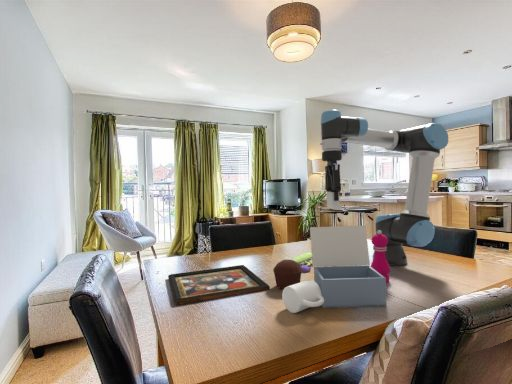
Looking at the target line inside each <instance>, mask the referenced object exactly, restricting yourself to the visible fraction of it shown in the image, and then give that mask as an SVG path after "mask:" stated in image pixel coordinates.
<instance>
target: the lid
mask: <svg viewBox="0 0 512 384" xmlns="http://www.w3.org/2000/svg"><path fill="white" fill-rule="evenodd" d="M366 229H367V228H366V225H343V226H342V225H341V226H338V225H336V226H310V227H309V233H310V234H309V235H310V236H309V237H310V247H311V252H312V258H311V262H312V263H311V264H312V267H313V268H314V267H333V266H367V265H369V266H371V263H370V255H369V245H368V238H367V237H368V235H367V230H366Z"/></svg>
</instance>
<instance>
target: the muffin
mask: <svg viewBox="0 0 512 384" xmlns="http://www.w3.org/2000/svg"><path fill="white" fill-rule="evenodd" d="M301 266H302V265H301V264H300V265H299V264H298V263H297V262H295V261H294V260H292V259H283V260H281V261H279V262H278V263H276V265H275V266H274V268H273V271H272V272H273V274H274V279H275V284H276V288H277V289H279V290H281V291H283V290H284V288H285V287H287V286H291V285H294V284H297V283H300V282H301V277H302V272H303V270H302V267H301Z"/></svg>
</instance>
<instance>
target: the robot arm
mask: <svg viewBox="0 0 512 384" xmlns="http://www.w3.org/2000/svg"><path fill="white" fill-rule="evenodd" d="M320 128H321V129H320V133H321V134H320V135H321V142H320V146H321V150H322V152H321V160H322V161H323V162H327V164H326V166H325V167H324V170H325V171H324V172H325V174H324V175H325V178H324V179H325V180H324V181H325V182H324V183H325V184H324V185H325V186H324V190H325V192H326V208H328V209H329V208H331V210H340V209H341V207H340V206H341V205H340V201H341V200H340V193H341V191H342V185H341V183H342V182H341V171H340V170H341V168H340V167H341V165H340V163H339V164H338V162H339V161H342V160H343V159H342V158H343V157H342V156H343V155H342V154H343V153H342V149H343V147H342V143H348V144H356V145H361V146H362V145H363V146H370V147H376V148H377V147H379V148H384V149H385V150H386V151H393V152H399V153H403V154H404V153H407V154H409V155H410V156H411V157H412V160H411V167H410V171H409V172H410V174H409V178H408V179H409V180H408V185H407V192H406V200H405V206H404V210H402V211H401V212H400V213H389V214H378V215H377V216H376V217H375V223H374V224H375V235H376V234H377V231H378V230H381V231H382V234H383V235H385V236H386V237H387V239H388V243H387V245H386V247H387V248H386V249H387V250H386V251H385V256H386V260H387V262H388V264H389V266H402V265H406V264H407V263H408V257H407V254H406V251H405V250H404V247H403V245H404V244H405V245H409V246H411V247H419V248H421V247H422V248H423V247H425V246H428V245H429V243H431V242H432V241H433V239H434V237H435V233H436V230H435V226H434V223H433V222H432V221H430V220H431V216H430V215H429V214H428V207H429V206H428V205H429V201H430V192H431V188H432V187H431V185H432V181H433V174H434V173H433V172H434V166H435V160H436V159H437V158H438V157H440V154H441V153H440V152H441V150H443V149H445V148H446V147H447V146H448V144H449V135H448V131H447V130H446V127H444V126H443V125H442V124H441V123H437V122H431V123H426V124H423V125H418V126H414V127H410V128H406V129H405V128H404V129H400V130H399V129H398V130H394V129H390V130H388V131H386V130H380V129H379V130H378V129H375V128H374V129H372V128H369V123H368V119H366V118H364V117H359V116H357V117H355V116H354V117H353V116H342V113H341V111H340V110H339V109H328V110H324V111H323V112H322V113H321V116H320ZM374 256H375V252H374V251H373V254H372V260H373V259H374Z"/></svg>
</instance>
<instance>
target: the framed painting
mask: <svg viewBox="0 0 512 384" xmlns="http://www.w3.org/2000/svg"><path fill="white" fill-rule="evenodd" d="M167 279H168V284H169V288H170V291H171V295H172V298H173V303H174V306H175V307H178V306H183V305H189V304H196V303H200V302H201V303H202V302H207V301H213V300H218V299H223V298H229V297H235V296H239V295H247V294H251V293H257V292H262V291H263V292H264V291H268V290H270V288H271V287H270V285H269V284H268V283H266V281H264V280H262V278H260V277H259V276H258V275H257V274H255V273H254V272H253V271H252V270H251V269H249V268H248V267H247V266H246V265H244V264H242V265H241V264H239V265H233V266H224V267H217V268H211V269H203V270H202V269H201V270H195V271H194V270H193V271H186V272H180V273H179V272H177V273H171V274H168V276H167Z"/></svg>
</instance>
